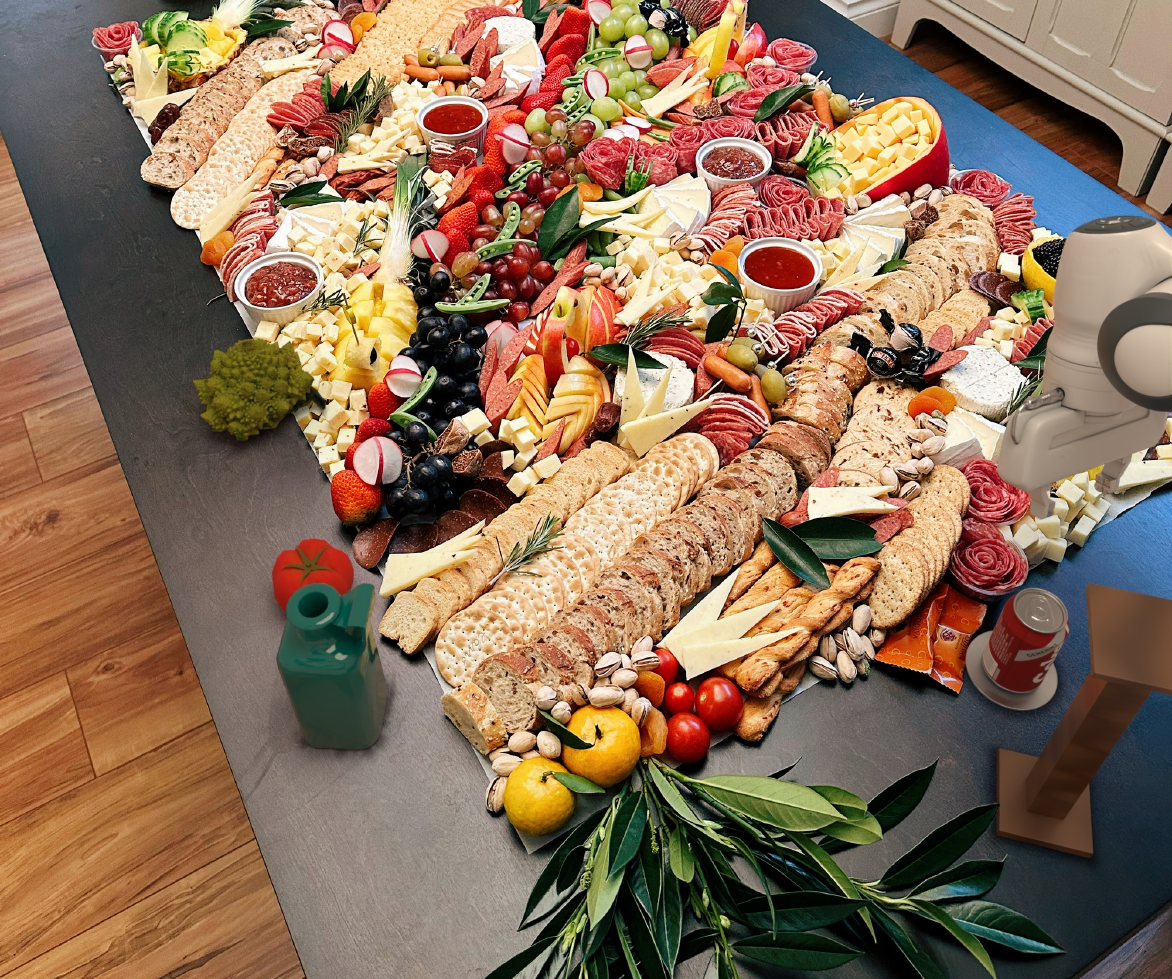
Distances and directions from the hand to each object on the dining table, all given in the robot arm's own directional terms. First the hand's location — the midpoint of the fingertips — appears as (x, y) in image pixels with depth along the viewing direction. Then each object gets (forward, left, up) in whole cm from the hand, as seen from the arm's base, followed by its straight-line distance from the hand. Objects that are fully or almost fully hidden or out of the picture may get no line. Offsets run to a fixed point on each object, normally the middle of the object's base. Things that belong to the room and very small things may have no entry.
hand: (1074, 503), depth 114 cm
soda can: (0, +6, -24) cm, 24 cm away
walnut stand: (-3, +21, -24) cm, 32 cm away
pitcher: (+70, +30, -24) cm, 80 cm away
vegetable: (+101, -9, -24) cm, 104 cm away
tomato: (+80, +17, -24) cm, 86 cm away
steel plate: (0, +6, -24) cm, 24 cm away
